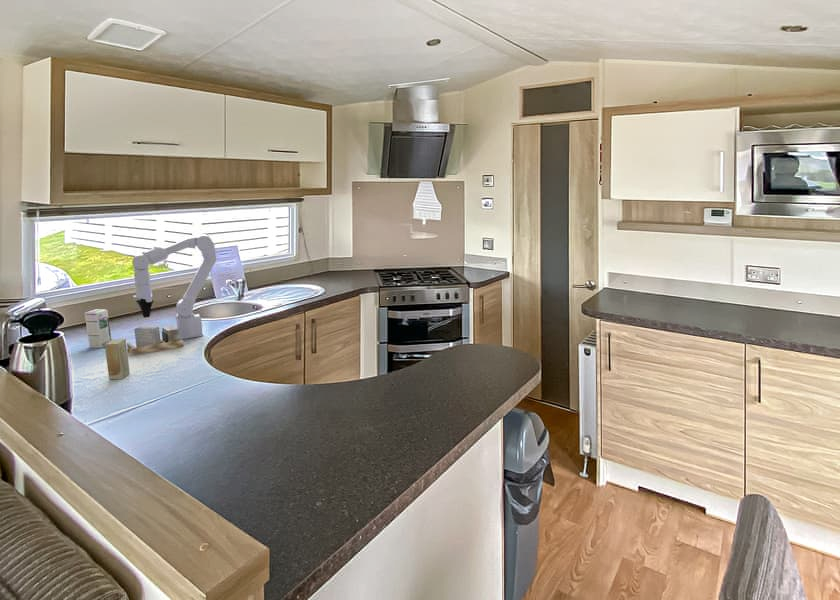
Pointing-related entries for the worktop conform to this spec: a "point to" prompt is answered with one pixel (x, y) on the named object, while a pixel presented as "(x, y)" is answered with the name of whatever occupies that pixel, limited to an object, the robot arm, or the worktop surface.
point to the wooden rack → (167, 342)
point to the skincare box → (117, 358)
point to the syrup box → (98, 328)
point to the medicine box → (147, 336)
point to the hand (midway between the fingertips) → (146, 317)
